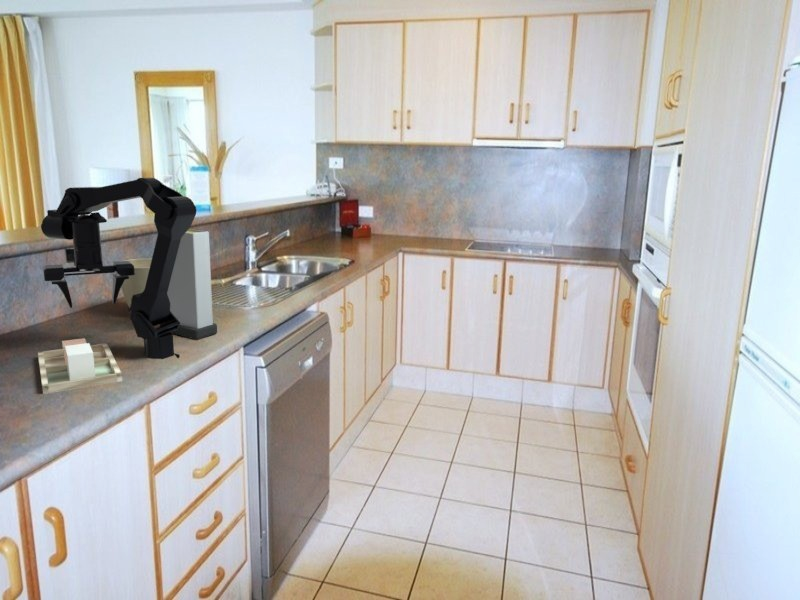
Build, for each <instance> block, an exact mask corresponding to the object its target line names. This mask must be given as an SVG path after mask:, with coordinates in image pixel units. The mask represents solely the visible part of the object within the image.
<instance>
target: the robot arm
mask: <svg viewBox="0 0 800 600" xmlns="http://www.w3.org/2000/svg"><path fill="white" fill-rule="evenodd" d="M138 198H141V199H142V200H143V203H144V204H145V207H146V208H147V209H149V211H150V212H152V213H153V214H154V215H153V217H154V219H153V223H154V225H155V228H156V231H157V237H156V241H155V245H154V247H153V252H152V257H151V259H152V260H151V264H150V269H149V273H148V277H147V281H146V285H145V289H144V291H143V292H142V293H139V294H135V295H133V296H132V299H131V306H130V308H129V307H128V309H127V311H128V312H130V313H129V319H130V321H131V322H132V325H133V328H134V331H135V333H136V334H135V335H136V336H137V337H138V338H140V339H141V338H142V340H143V347H144V349H143V350H144V354H145V355H146V357H147V358H149V359H153V360H154V359H155V360H164V359H168V358H171V357H173V356H175V357H176V358H180V354H178V353H175V347H174V344H175V343H174V334H173V333H171V332H173V331H175V330H178V328H179V325H180V322H179V321H178V319H177V318H176V317H175V316H174V315H173V314H172V313H171V311H170V300H169V298H168V295H167V292H168V288H169V284H170V280H171V276H172V272H173V268H174V264H175V260H176V256H177V252H178V249H179V245H180V241H181V238H182V236H183V235H184V234H185V233H186V231H187V230H188V229H190V228H191V227H192V224H193V222H194V219H195V218H196V214H197V206H196V205H195V203H194V202H193V201H194V200H192V199H191V198H189V197H188V196H184V195H183V194H181V193H180V192H179V191H177V190H175V189H173V188H171V187H170V186H167V185H166V184H164V183H163V182H161V181H160V180H159V179H157V178H155V177H138V178H136V179H133V180H128V181H124V182H119V183H113V184H109V185H105V186H83V187H82V186H79V187H75V186H74V187H68V188H66V189H65V190H64V194H63V197H62V199H61V200H60V203H59V205H58V207H57V208H56V209H48V210H46V212H47V214H46V215H45V217H44V218H43V220H42V222H41V225H40V229H41V232H42V233H43V234H44V236H45V237H47V238H49V239H59V240H68V241H71V240H72V243H73V244H72V245H73V248H65V249H64V252H65V254H64V255H65V261H66V263H67V264H72V263H73V266H74V267H64V266H63V264H48V265H44V266H43V267H42V272H43V279H44V281H45V282H51V284H52V285H57V286H58V288H59V290H60V291H61V293H62V294H63V296H64V298H65V299H66V302H67V304H68V306H69V308H71V309H72V308H73V302H72V297H71V293H70V289H69V286H68V282H67V279H66V277H68V276H83V275H97V274H112V294H111V295H112V296H111V297H112V304H114V305H115V304H116V302H117V300H118V297H119V294H120V290H121V286H122V284H123V282H124V280H125V279H129V275H135V272H134V265H133V264H131V263H130V262H129V261H124V260H120V261H119V260H118V261H113V262H112V265H111V264H110V265H104V263H103V261H104V260H103V251H102V239H101V228H100V224H103V223H107V222H108V220H107V219H106V218H105V217H104V216H102V214H101V213H100V212H99V211H100V210H102V209H105V208H107V207H108V206H109V205H111V204H113V203H119V202H123V201H129V200H133V199H138ZM158 325H159V326H158Z"/></svg>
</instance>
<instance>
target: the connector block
mask: <svg viewBox="0 0 800 600" xmlns="http://www.w3.org/2000/svg"><path fill="white" fill-rule="evenodd" d="M90 345H91V343H90V342H88V343H87V342H86V343H85V344H77V345H69V346H65V352H66V362H67V371H68V376H69V380H76V379H82V378H89V377H95V368H94V357H93V351H92V349H91V346H90Z"/></svg>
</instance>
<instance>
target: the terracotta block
mask: <svg viewBox="0 0 800 600" xmlns="http://www.w3.org/2000/svg"><path fill="white" fill-rule="evenodd" d="M85 343H87V340H86V338H85V337H83V338H76V339H67V340H61V345H62V346H61V347H62V349H63V356H64V362H65V364H66V363H67V362H66V352H65V346H69V345H77V344H85Z"/></svg>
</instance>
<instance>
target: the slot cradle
mask: <svg viewBox="0 0 800 600" xmlns="http://www.w3.org/2000/svg"><path fill="white" fill-rule="evenodd" d="M90 346H91V349H92V351H93V357H94V368H95V377H89V378H82V379H76V380H69V376H68V371H67V363H66V364H65V362H64V356H63V348H59V349H52V350H43V351H37V357H38V365H39V372H40V380H41V389H42V394H43V395H44V394H52V393H57V392H63V391H64V392H65V391H70V390H76V389H83V388H88V387H95V386H100V385H105V384H112V383H117V382H118V383H119V382H123V374H122V371H121V370H120V369H121V368H120V367H119V365H118V364H117V360H115V356H114V355H113V353H112V351H111V349H110V347H109V345H108V343H107V342H106V343H105V342H104V343H98V344H90Z"/></svg>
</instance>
